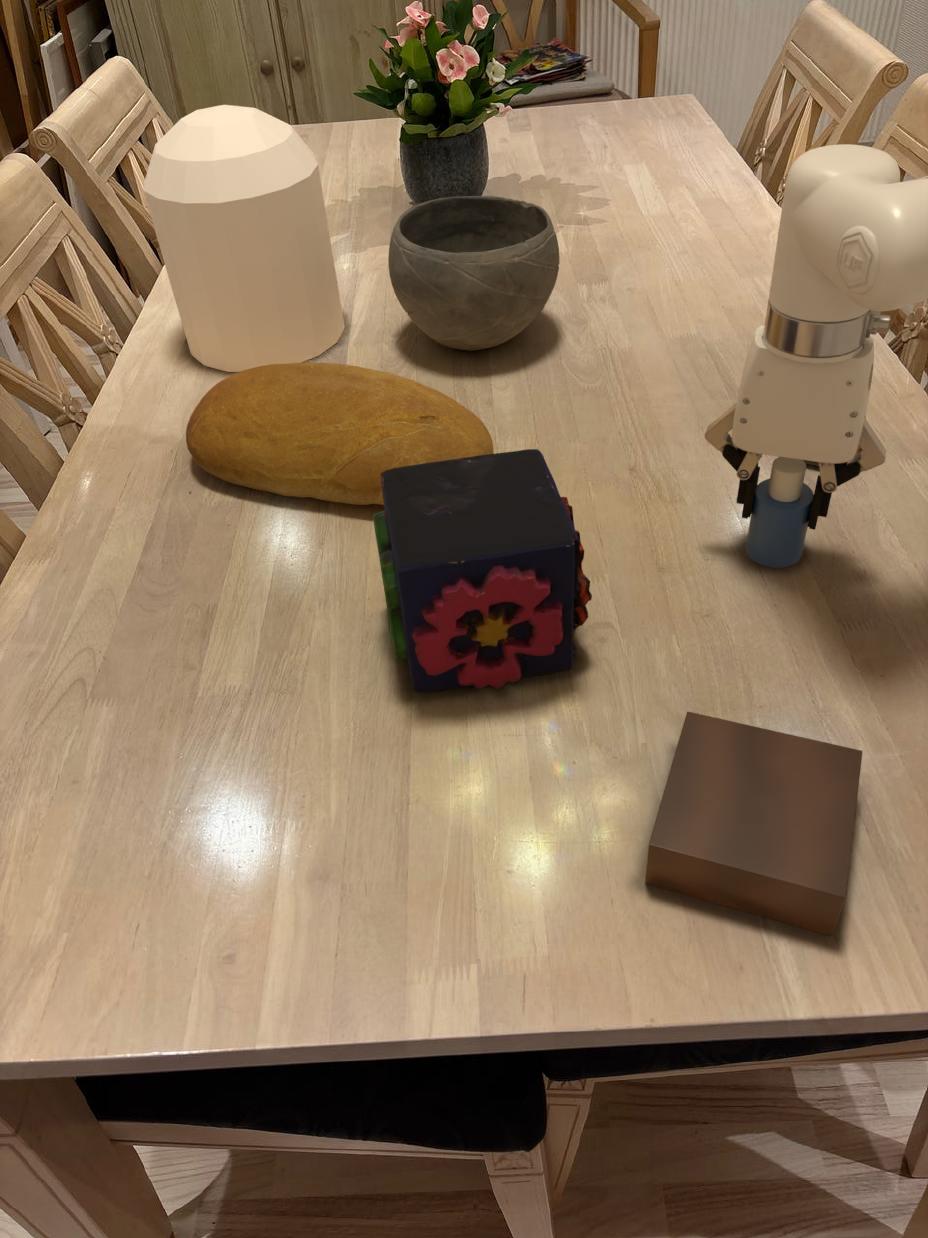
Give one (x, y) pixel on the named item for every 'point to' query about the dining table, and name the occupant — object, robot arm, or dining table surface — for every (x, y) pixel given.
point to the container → (244, 239)
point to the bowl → (473, 268)
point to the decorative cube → (480, 570)
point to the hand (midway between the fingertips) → (780, 513)
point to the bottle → (780, 515)
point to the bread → (326, 430)
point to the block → (757, 822)
